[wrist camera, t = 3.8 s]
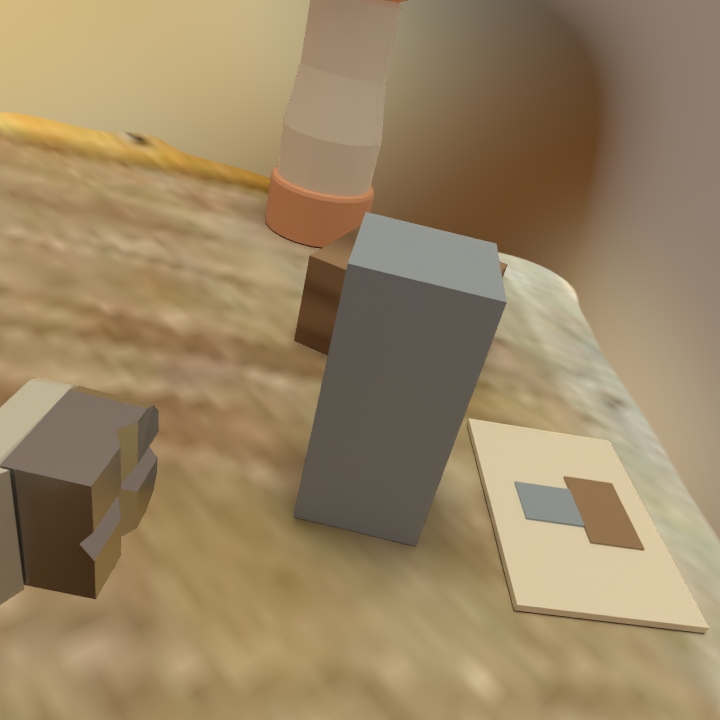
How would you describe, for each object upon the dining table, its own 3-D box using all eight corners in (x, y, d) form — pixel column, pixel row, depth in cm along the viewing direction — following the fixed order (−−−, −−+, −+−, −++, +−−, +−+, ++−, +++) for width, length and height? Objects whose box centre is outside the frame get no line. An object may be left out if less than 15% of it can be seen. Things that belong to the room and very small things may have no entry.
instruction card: (704, 633, 22) (710, 626, 22) (514, 610, 21) (518, 602, 21) (606, 445, 31) (610, 439, 30) (466, 423, 30) (469, 416, 30)
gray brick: (415, 546, 23) (506, 302, 18) (293, 516, 23) (347, 263, 18) (420, 464, 27) (496, 243, 21) (315, 438, 27) (365, 211, 21)
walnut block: (436, 406, 31) (466, 317, 28) (293, 343, 33) (309, 255, 30) (479, 341, 37) (507, 264, 35) (358, 292, 39) (375, 216, 37)
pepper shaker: (348, 212, 50) (407, -75, 40) (377, 252, 45) (455, -70, 35) (257, 203, 48) (296, -106, 38) (276, 245, 42) (327, -105, 32)
